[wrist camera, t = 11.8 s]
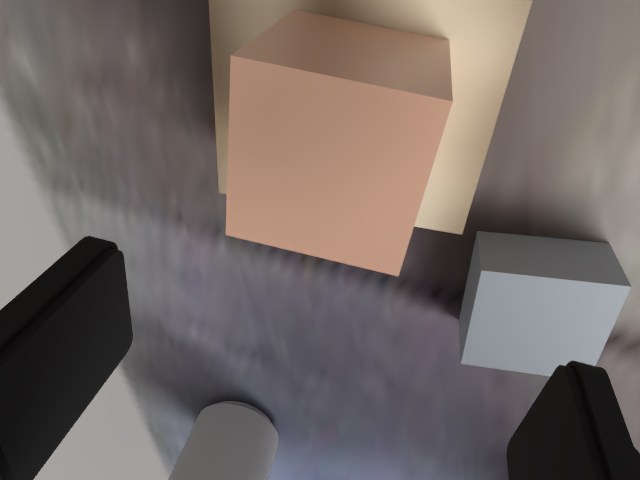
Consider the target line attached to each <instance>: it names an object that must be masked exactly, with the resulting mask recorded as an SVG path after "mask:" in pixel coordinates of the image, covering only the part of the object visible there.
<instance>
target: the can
mask: <svg viewBox="0 0 640 480" xmlns="http://www.w3.org/2000/svg"><path fill="white" fill-rule="evenodd" d="M278 444H279V435H278V433H277V431H276V429H275V427H274V426H273V425H272V423H271V421H270V419H269V418H268V417H267V416H266V415H265V414H264V413H263V412H261V411H260V410H258V409H257V408H255V407H253V406H251V405H248V404H246V403H242V402H237V401H223V402H220V403H217V404H213V405H210V406H207V407H206V408H204V409H203V410H202V411H201V412H200V414H199V416H198V418H197V420H196V422H195V424H194V426H193V428H192V431H191V433H190V435H189V437H188V439H187V441H186V443H185V445H184V448H183V450H182V452H181V454H180V456H179V458H178V460H177V462H176V465H175V467H174V469H173V471H172V473H171V475H170V477H169V479H168V480H268V478H269V474H270V471H271V467H272V464H273V461H274V457H275V454H276V451H277V447H278Z"/></svg>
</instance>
